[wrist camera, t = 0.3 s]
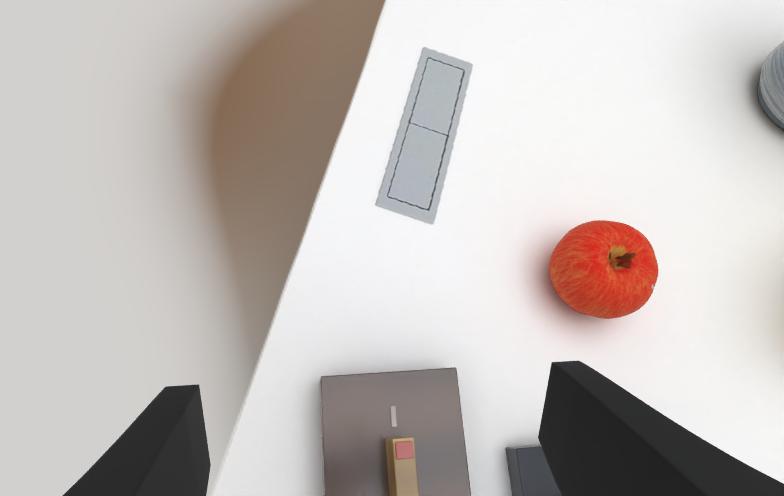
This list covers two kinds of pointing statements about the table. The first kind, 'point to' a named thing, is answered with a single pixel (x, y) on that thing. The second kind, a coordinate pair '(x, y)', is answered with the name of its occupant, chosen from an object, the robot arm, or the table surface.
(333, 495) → the lock plate
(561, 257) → the apple
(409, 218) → the table surface
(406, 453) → the wooden block
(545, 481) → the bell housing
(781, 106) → the vase
